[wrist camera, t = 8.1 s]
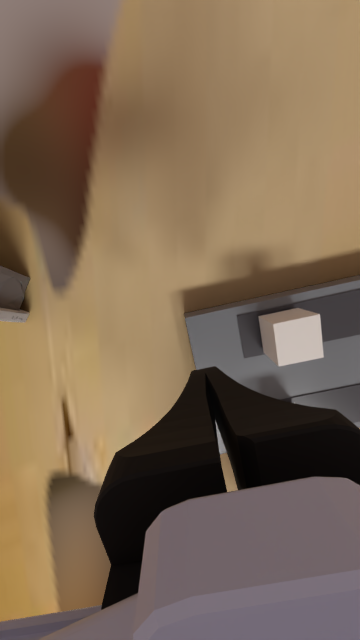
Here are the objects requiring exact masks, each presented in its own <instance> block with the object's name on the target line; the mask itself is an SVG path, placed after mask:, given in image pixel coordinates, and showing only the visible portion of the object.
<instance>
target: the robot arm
mask: <svg viewBox="0 0 360 640" xmlns="http://www.w3.org/2000/svg"><path fill="white" fill-rule="evenodd" d="M215 421H216V422H215ZM216 423H217V426H218V429H219V432H220V435H221V437H222V440H223V443H224V446H225V449H226V451H227V454H228V457H229V460H230V463H231V466H232V469H233V472H234V476H235V480H236V484H237V488H238V490H237V491H231V492H227V489H226V485H225V480H224V475H223V471H222V466H221V460H220V452H219V445H218V437H217V429H216ZM94 518H95V523H96V527H97V530H98V533H99V535H100V538H101V540H102V543H103V545H104V547H105V550H106V553H107V555H108V557H109V560H110V563H111V568H110V572H109V577H108V581H107V585H106V590H105V594H104V599H103V603H102V605H100V606H94V607H88V608H82V609H75V610H69V611H63V612H57V613H51V614H45V615H39V616H33V617H26V618H20V619H14V620H8V621H2V622H0V640H360V429H359V428H358V427H357V426H356V425H355V424H354V423H353V422H351V421H350V420H349V419H348V418H346V417H345V416H344V415H343V414H341V413H340V412H339V411H337V410H335V409H327V408H319V407H311V406H305V405H300V404H295V403H290V402H286V401H282V400H279V399H275V398H272V397H269V396H266V395H263V394H261V393H258V392H256V391H254V390H251V389H249V388H247V387H245V386H243V385H242V384H240V383H238V382H236V381H235V380H233V379H232V378H230V377H229V376H228V375H226V374H225V373H224V372H222V371H221V370H220V369H219V368H217V367H216V366H213V367H208V368H203V369H199V370H194V371H192V372H191V374H190V377H189V380H188V382H187V384H186V386H185V388H184V390H183V392H182V394H181V395H180V397H179V398H178V400H177V402H176V403H175V404H174V406H173V407H172V408H171V409H170V411H169V412H168V413H167V414H166V415H165V416H164V417H163V418H162V419H161V420H160V421H159V422H158V423H157V424H156V425H155V426H153V427H152V428H151V429H150V430H149V431H147V432H146V433H145V434H143V435H142V436H141V437H139V438H138V439H137V440H135V441H134V442H132V443H130V444H129V445H127V446H126V447H124V448H123V449H121V450H119V451H118V452H116V453H115V456H114V458H113V460H112V462H111V464H110V466H109V469H108V471H107V474H106V476H105V479H104V482H103V485H102V487H101V490H100V493H99V496H98V499H97V501H96V504H95V512H94Z"/></svg>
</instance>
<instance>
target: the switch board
mask: <svg viewBox="0 0 360 640" xmlns="http://www.w3.org/2000/svg"><path fill="white" fill-rule="evenodd" d="M295 308H300V309H304V310H307V311H311V312H314V313H318V314H320V319H321V331H322V343H323V355H324V357H323V358H319V359H314V360H309V361H304V362H299V363H294V364H289V365H284V366H278V365H276V364H275V363H274V362H273V361H272V360H271V359H270V358H269V357H268V356H267V355H266V354H265V353H264V351H263V345H262V338H261V331H260V324H259V317H258V316H262V315H267V314H271V313H276V312H281V311H285V310H290V309H295ZM184 315H185V321H186V325H187V330H188V334H189V339H190V343H191V348H192V352H193V357H194V361H195V366H196V370H199V369H203V368H208V367H213V366H216V367H217V368H219V369H220V370H221V371H222V372H224V373H225V374H226V375H228V376H229V377H230V378H232V379H233V380H235V381H236V382H238V383H240V384H242V385H243V386H245V387H247V388H249V389H251V390H254V391H256V392H258V393H261V394H263V395H266V396H269V397H272V398H275V399H279V400H282V401H286V402H290V403H295V404H300V405H305V406H311V407H319V408H327V409H335V410H337V411H339V412H340V413H341V414H343V415H344V416H345V417H346V418H348V419H349V420H350V421H351V422H353V423H354V424H355V425H356V426H357V427H358V428H360V275H357V276H353V277H348V278H344V279H339V280H335V281H330V282H326V283H321V284H316V285H312V286H307V287H303V288H298V289H294V290H289V291H284V292H280V293H275V294H271V295H266V296H262V297H257V298H253V299H248V300H243V301H239V302H234V303H230V304H225V305H221V306H216V307H211V308H207V309H202V310H198V311H193V312H189V313H184ZM215 422H216V421H215ZM216 429H217V437H218V445H219V452H220V454H223V453H227V451H226V449H225V446H224V443H223V440H222V437H221V435H220V432H219V429H218V426H217V423H216Z"/></svg>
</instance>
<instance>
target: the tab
mask: <svg viewBox="0 0 360 640" xmlns="http://www.w3.org/2000/svg"><path fill="white" fill-rule="evenodd" d="M258 317H259V324H260V331H261V338H262V345H263V351H264V353H265V354H266V355H267V356H268V357H269V358H270V359H271V360H272V361H273V362H274V363H275V364H276V365H278V366H284V365H289V364H294V363H299V362H304V361H309V360H314V359H319V358H323V357H324V355H323V343H322V331H321V319H320V314H318V313H314V312H311V311H307V310H304V309H300V308H295V309H290V310H285V311H281V312H276V313H271V314H267V315H262V316H258Z"/></svg>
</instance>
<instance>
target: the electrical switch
mask: <svg viewBox="0 0 360 640" xmlns="http://www.w3.org/2000/svg"><path fill="white" fill-rule="evenodd" d="M29 280H30V278H29V277H26V276H24V275H22V274H19V273H17V272H14V271H12V270H10V269H7V268H5V267H2V266H0V321H8V322H26V320H27V318H28V316H29V312H27V311H24V310H21V309H20V306H21V304H22V302H23V299H24V295H25V290H26V287H27V285H28V282H29Z"/></svg>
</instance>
